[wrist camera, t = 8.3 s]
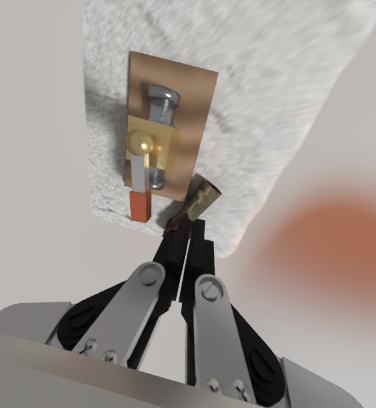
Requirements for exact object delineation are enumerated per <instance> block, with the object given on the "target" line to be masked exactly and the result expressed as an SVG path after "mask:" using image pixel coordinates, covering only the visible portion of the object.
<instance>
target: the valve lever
mask: <svg viewBox="0 0 376 408" xmlns="http://www.w3.org/2000/svg"><path fill="white" fill-rule="evenodd" d="M125 145H126V148H127V150H128V151H129V152H130V154H131V174H132V191H131V192H130V208H131V220H132V221H138V222H143V223H147V221H148V220H149V219H150V218H151V190H149V155H150V154H152V153H154V151H155V150H156V140H155V138H154V137H153V135H151V134H150V133H147V132H143V131H139V130H131V131H129V132H128V133H127V134H126V137H125Z"/></svg>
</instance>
